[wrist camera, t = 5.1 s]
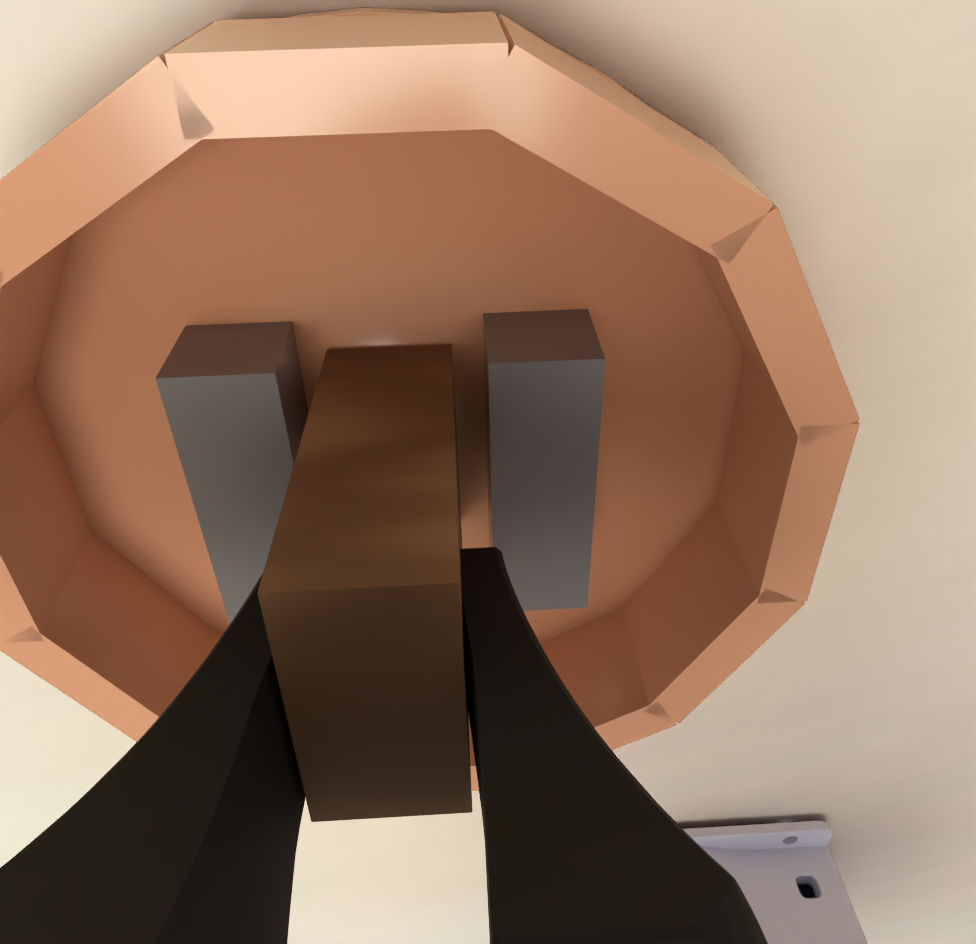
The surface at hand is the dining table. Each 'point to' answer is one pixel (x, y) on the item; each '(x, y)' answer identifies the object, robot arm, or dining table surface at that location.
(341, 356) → the brown rectangular block
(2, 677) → the dining table surface
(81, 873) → the robot arm
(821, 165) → the dining table surface
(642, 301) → the faceted copper bowl
